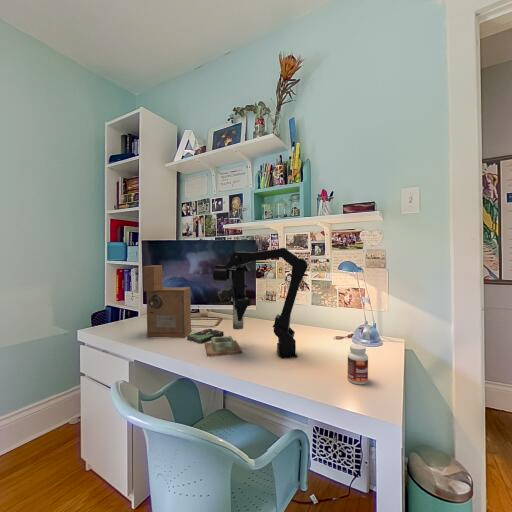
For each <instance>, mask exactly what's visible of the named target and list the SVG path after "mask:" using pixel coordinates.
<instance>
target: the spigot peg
mask: <svg viewBox="0 0 512 512" xmlns="http://www.w3.org/2000/svg"><path fill="white" fill-rule="evenodd" d="M244 316H245V315H243V317H242V319H241V321H238V318H237V312H236V308H235V307H234V306H233V305H232V329H233V330H243V329H244V324H245V323H244V321H245V320H244Z"/></svg>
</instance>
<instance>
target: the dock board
mask: <svg viewBox="0 0 512 512" xmlns="http://www.w3.org/2000/svg"><path fill="white" fill-rule="evenodd" d="M204 348H205V352H206V356H207V357H208V356H209V357H217V356H218V357H219V356H226V355H239V354H242V353H243V350H242V349H241V347H240V345H239V344H238V342H237V340H236V339H235V340H234V338H233V337H232V336H231V335H224V336H222V337H213V338H211V341H210V342H206V343H204ZM209 357H208V358H209Z"/></svg>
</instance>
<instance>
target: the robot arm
mask: <svg viewBox="0 0 512 512" xmlns="http://www.w3.org/2000/svg"><path fill="white" fill-rule="evenodd" d="M279 258H281V259H282V260H284V261H285V262H286V263H287V264H289V265H290V266H291V276H290V277H291V278H290V283H289V286H288V290H287V293H286V297H285V299H284V304H283V306H282V307H283V308H282V310H281V313H280V314H279V313H277V315H276V316H275V318H274V323H273V326H272V328H273V333H274V335H275V336H276V337H277V338H278V340H277V343H276V353H277V355H278V356H279V357H280V358H281V359H287V358H288V359H289V358H290V359H291V358H298V354H297V352H296V351H297V350H296V347H297V346H296V341H297V340H296V338H294V337H295V331H294V329H292V327H291V319H292V318H291V316H292V315H291V314H292V311H293V308H294V304H295V303H296V299H297V296H298V295H297V294H298V292H299V291H298V290H299V288H300V284H301V281H302V280H303V277H305V274H306V271H307V270H308V267H309V265H308V261H307V259H304V258H301V257H300V258H299V257H298V256H297V255H295V254H294V253H292V252H291V251H290V250H288V248H287V247H279V248H274V249H267V250H261V251H253V252H252V251H234V252H232V254H231V255H230V260H229V261H228V262H227V264H226V265H221V264H216V265H214V269H213V273H212V279H213V281H214V282H227V283H228V282H229V281H230V280H231V283H230V285H229V287H228V288H225V289H222V290H220V291H219V290H218V292H217V295H218V298H219V300H220V302H224V301H225V300H229V303H230V304H231V305H232V307H233V306H234V307H235V308H236V312H237V318H238V321H241V319H242V317H243V315H244V314H245V312H246V310H247V309H248V307H250V306H252V305H251V304H252V303H251V302H252V301H251V300H250V299H249V298H248V297H247V294H246V288H247V284H246V280H247V279H246V275H247V273H246V272H250V271H251V268H250V267H248V265H247V264H249V263H252V262H255V261H263V260H271V259H279ZM243 265H244V266H243ZM233 268H235V269H233ZM244 316H245V315H244Z"/></svg>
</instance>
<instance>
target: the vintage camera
mask: <svg viewBox="0 0 512 512" xmlns="http://www.w3.org/2000/svg"><path fill="white" fill-rule="evenodd" d="M142 273H143V274H142V278H143V279H142V282H143V287H142V288H143V292H146V332H147V333H146V338H151V337H171V338H172V339H177V338H178V339H186V338H187V336H188V335H190V334H192V319H191V318H192V317H191V316H192V313H191V312H192V307H191V306H192V305H191V304H192V303H191V287H190V286H187V287H184V286H183V287H182V286H181V287H179V286H178V287H177V286H176V287H175V286H174V287H173V286H172V287H171V286H169V287H168V286H167V287H166V286H165V287H163V265H161V264H160V265H159V264H158V265H153V264H152V265H144V266H142ZM185 337H186V338H185ZM171 338H170V339H171Z"/></svg>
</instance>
